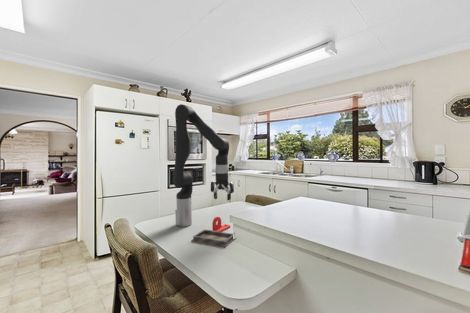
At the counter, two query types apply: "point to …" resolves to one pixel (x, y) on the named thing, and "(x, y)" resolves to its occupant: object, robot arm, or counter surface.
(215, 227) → the bracket
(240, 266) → the counter surface
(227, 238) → the plate
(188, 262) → the counter surface
